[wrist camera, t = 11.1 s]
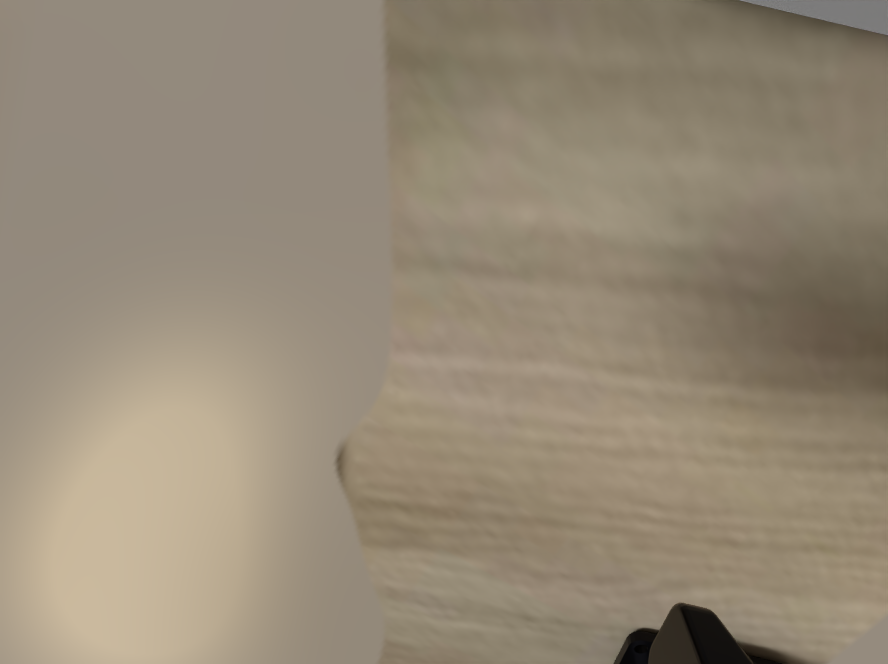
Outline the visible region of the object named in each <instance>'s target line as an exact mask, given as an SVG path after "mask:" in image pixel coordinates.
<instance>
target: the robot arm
mask: <svg viewBox="0 0 888 664" xmlns="http://www.w3.org/2000/svg"><path fill="white" fill-rule="evenodd" d="M614 664H783V663H778V662H774V661H770V660H765V659H761V658H756V657H752V656H748V655H746V653H745V652H744V651H743V649H742V648H741V647H740V645H739V644H738V643H737V642H736V640H735V639H734V638H733V636H732V635H731V634H730V632H729V631H728V630H727V628H726V627H725V626H724V625H723V623H722V622H721V621H720V619H719V618H718V617H717V616H716V614H715V613H713V612H712V611H711V610H709V609H707V608H703V607H699V606H694V605H690V604H686V603H677V604H676V605H674V606H673V607H672V609H671V610H670V612H669V614H668V616H667V617H666V619H665V621H664V623H663V625H662V627H661V629H660V630H659V632H658V634H657V635H656V634H652V633H647V632H641V631H638V632H633V633H631V634H629V636H628V637H627V638H626V640H625V642H624V644H623V646H622V648H621V650H620V652H619V654H618V656H617V658H616V660H615V662H614Z"/></svg>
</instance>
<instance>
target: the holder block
mask: <svg viewBox="0 0 888 664" xmlns="http://www.w3.org/2000/svg"><path fill="white" fill-rule="evenodd" d="M740 1H744V2H748V3H753V4H757V5H761V6H765V7H770V8H774V9H778V10H782V11H787V12H791V13H795V14H799V15H804V16H808V17H812V18H816V19H821V20H825V21H829V22H833V23H838V24H842V25H846V26H850V27H855V28H859V29H863V30H867V31H871V32H876V33H880V34H884V35H888V0H740Z"/></svg>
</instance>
